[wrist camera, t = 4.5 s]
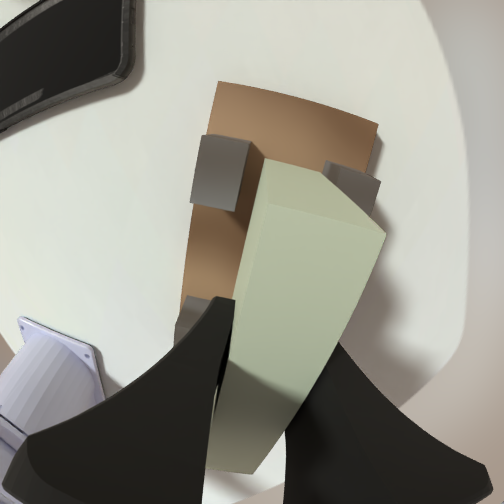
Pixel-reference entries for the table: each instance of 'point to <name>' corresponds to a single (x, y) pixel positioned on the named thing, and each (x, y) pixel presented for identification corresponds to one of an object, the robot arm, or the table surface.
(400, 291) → the table surface
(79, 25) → the phone
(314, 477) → the robot arm
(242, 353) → the door panel
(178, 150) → the table surface
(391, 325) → the table surface
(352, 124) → the rail
